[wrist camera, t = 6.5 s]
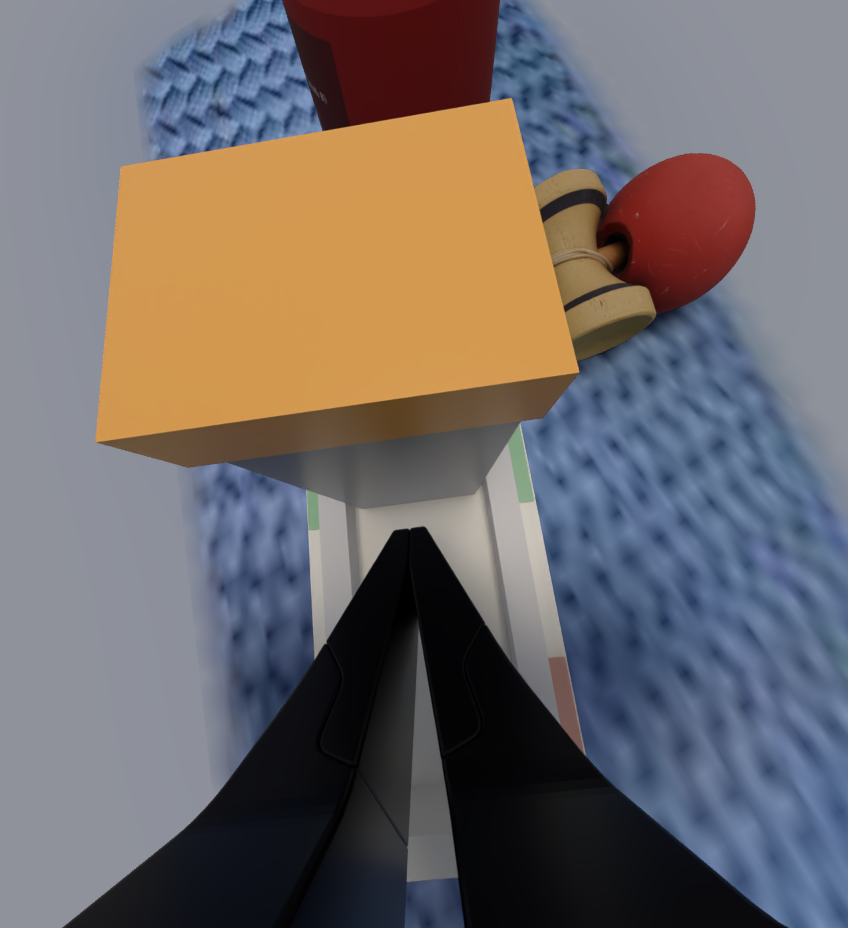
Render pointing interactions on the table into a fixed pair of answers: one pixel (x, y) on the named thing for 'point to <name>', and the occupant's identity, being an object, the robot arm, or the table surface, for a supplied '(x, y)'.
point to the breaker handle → (337, 307)
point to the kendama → (642, 243)
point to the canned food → (393, 56)
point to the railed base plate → (492, 592)
